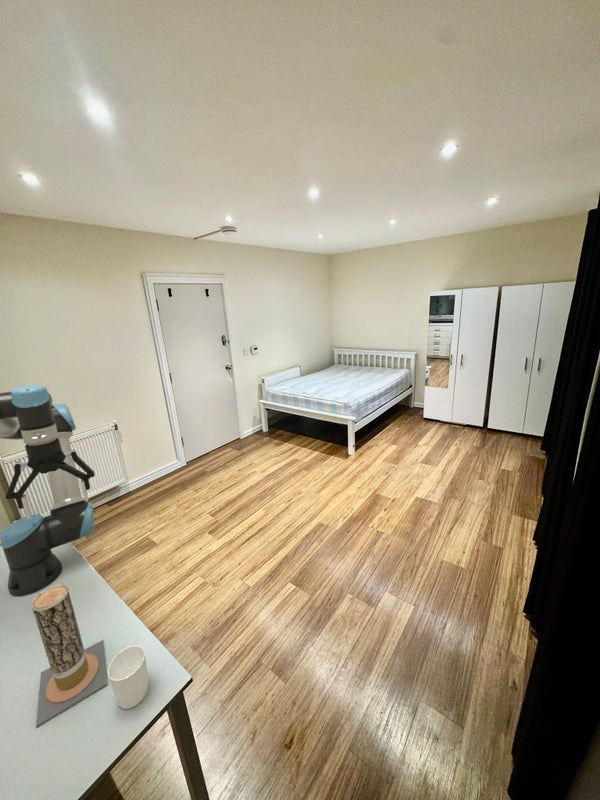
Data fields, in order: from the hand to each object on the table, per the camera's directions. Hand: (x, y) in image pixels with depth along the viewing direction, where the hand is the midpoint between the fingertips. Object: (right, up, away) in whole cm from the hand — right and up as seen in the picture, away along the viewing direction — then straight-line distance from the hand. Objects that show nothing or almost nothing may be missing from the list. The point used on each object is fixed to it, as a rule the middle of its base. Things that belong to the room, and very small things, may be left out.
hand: (59, 507), depth 91 cm
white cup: (+31, -40, -15) cm, 53 cm away
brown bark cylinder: (+13, -39, -12) cm, 43 cm away
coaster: (+13, -40, -12) cm, 44 cm away
